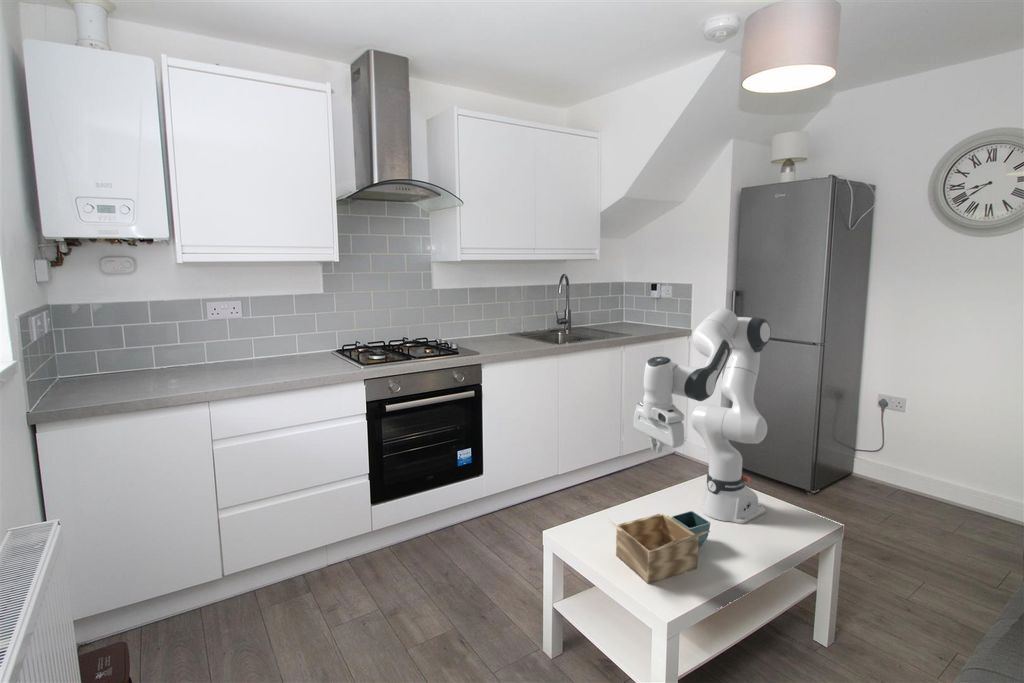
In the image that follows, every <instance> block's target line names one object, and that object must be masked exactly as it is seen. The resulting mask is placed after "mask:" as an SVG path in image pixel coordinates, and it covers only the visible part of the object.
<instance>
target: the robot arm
mask: <svg viewBox="0 0 1024 683" xmlns="http://www.w3.org/2000/svg"><path fill="white" fill-rule="evenodd" d="M771 336H772V328H771V326H770V323H769V321H767V320H766V319H765V318H762V317H755V316H754V317H748V316H747V317H746V316H737V315H736V313H735V312H733V311H732V310H730V309H728V308H718V309H716V310H714V311H713V312H711V313H710V314H708V315H707V316H706V317H705V318H704V319H703V320H702V321H701V322H700V323H699V324H698V325H697V326H696V327H695V329H694V331H693V333H692V343H693V345H694V348H695V349H696V350H697V351H698V352H699V353H700V354H701V355H703V356H705V357H706V358H707V357H708V359H707V360H706V363H705V365H703V366H700V367H699V366H698V367H696V366H688V365H683V364H680V363H675V362H673V361H672V359H671V358H670V357H667V356H655V357H652V358H649V359H648V360H646V363H645V367H644V372H643V389H644V395H643V400H642V401H643V402H640V401H639V402H638V403H637V404H635V410H634V414H633V422H632V423H633V424H632V425H633V428H634V429H635V430H636V431H639V432H640V433H642V434H644V435H647V436H648V439H649V441H650V445H651V450H652V451H653V452H656V453H658V454H659V453H662V452H663V447H664V445H667V446H669V447H671V448H673V449H675V448H680V447H682V446H683V444H684V442H685V426H684V423H683V421H684V420H685V414H684V413H683V412H682V411H680V410H679V409H678V408H677V406H676V405H675V404H673V395H676V396H680V397H685V398H688V399H691V400H694V401H697V402H704V401H706V400H707V399H709V398H711V396H713V394H714V391H715V390H716V385H717V382H718V379H719V377H720V376H721V373H722V372H724V373H723V376H722V380H721V382H720V391H721V393H722V394H723V396H724V397H726V398H727V399H728V400H729V401H731V402H732V406H731V407H725V406H721V405H720V406H719V405H714V404H699V405H697V406H696V407H695V408H694V409H693V410H692V412H691V414H690V423H691V426H692V428H693V430H695V432H696V433H698V434H699V436H700V437H701V438H702V439H703V443H705V444H704V445H705V446H706V450H707V454H708V472H707V475H706V487H705V494H704V498H703V499H702V507H701V510H702V512H703V513H704V515H706V516H708V517H710V518H712V519H715V520H719V521H723V522H732V523H737V524H741V525H742V524H745V523H748V522H749V521H751V520H753V519H755V518H757V517H759V516H761V515H762V514H765V513H766V509H765V507H764V506H763V505H762V504H760V503H759V496H758V494H756V492H754V491H753V490H752V489H751V488H749V486H747V485H746V484H745V482H746V483H747V484H749V483H750V482H751V480H752V479H751V477H749V476H747V475H744V476H743V456H742V454H741V453H740V451H739V450H738V449H736V448H735V447H734V446H732V444H731V443H730V441H732V442H737V443H741V444H742V443H743V444H760V443H761V442H762V441H764V439H765V438H766V436H767V433H768V424H767V421H766V419H765V418H764V417H763V415H762V414H761V413H760V412H759V411H758V409H757V408H756V404H755V400H754V399H755V398H754V397H755V396H754V395H755V388H756V383H757V380H758V375H759V370H760V364H761V363H760V362H761V355H760V354H761V353H760V352H762V350H763V349H764V347H766V345H767V344H768V343H769V341H770V339H771ZM730 349H731V350H730ZM730 351H731V353H730ZM724 367H725V369H724ZM723 369H724V371H723Z"/></svg>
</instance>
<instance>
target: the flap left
mask: <svg viewBox="0 0 1024 683" xmlns="http://www.w3.org/2000/svg"><path fill="white" fill-rule="evenodd" d="M710 532H711V531H710V530H709V531H706V532H702V533H699V534H695V535H692V536H688V537H685V538H681V539H678V540H674V541H672V542H670V543H668V544H666V545H663V546H661V547H659V548H657V549H656V550H660V549H664V548H667V547H671V546H674V545H677V544H681V543H684V542H688V541H691V540H694V539H696V538H698V537H700V536H702V535H704V534H707V533H708V534H709V533H710Z"/></svg>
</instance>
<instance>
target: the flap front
mask: <svg viewBox="0 0 1024 683" xmlns="http://www.w3.org/2000/svg"><path fill="white" fill-rule="evenodd" d="M604 519H605V520H606V521H607V522H608V523H610V525H612V526H613V527H615V528H616V529H618V530H620V531H621V532H622V533H624V534H625V535H626V536H628V537H629V538H630V539H632V540H633V541H634V542H636V543H637V544H638V545H640V543H638V542H637V541H636V540H635V539H633V538H632V537H631V536H630V535H628V534H627V533H626V532H625V531H623V530H622V529H621V528H619V527H618V524H617V525H616V524H615V523H614V522H612V520H610V519H608V518H607V517H605V518H604Z"/></svg>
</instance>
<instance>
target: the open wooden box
mask: <svg viewBox="0 0 1024 683" xmlns="http://www.w3.org/2000/svg"><path fill="white" fill-rule="evenodd" d="M617 526H618V527H619V528H621V529H622V530H623V531H625V532H626V533H627V534H628V535H630V536H631V537H632V538H633V539H635V540H636V541H637V542H638V543H640V545H638V544H637V543H636V542H634V541H633V540H632V539H630V538H629V537H628V536H626V535H625V534H624V533H622V532H621V531H620V530H618V529H617V528H616V533H615V534H616V537H615V538H616V539H615V540H616V541H615V543H616V544H615V556H616V557H617V558H618V559H619V560H620V561H621V562H623V563H624V564H625V565H626V566H627V567H628V568H629V569H630V570H632V571H633V572H634V573H635V574H636V575H637V576H639V577H640V578H641V579H642V581H644V582H645V583H646V584H647V585H649V584H653V583H656V582H658V581H659V582H660V581H662V580H665V579H668V578H672V577H675V576H678V575H680V574H684V573H687V572H690V571H693V570H696V569H697V568H698V557H699V556H698V554H699V547H698V538H696V539H694V540H691V541H688V542H684V543H681V544H677V545H674V546H671V547H667V548H664V549H660V550H656V549H657V548H659V547H661V546H663V545H666V544H668V543H670V542H672V541H674V540H678V539H681V538H685V537H688V536H692V535H695V534H694V533H693V532H691V531H690V530H688V529H687V528H685V527H684V526H682V525H681V524H680V523H678V522H677V521H675V520H674V519H672V516H671V517H670V516H669V515H666V514H664V513H662V514H660V513H656V514H653V515H649V516H645V517H642V518H637V519H634V520H629V521H626V522H625V521H624V522H622V523H618V524H617Z"/></svg>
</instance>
